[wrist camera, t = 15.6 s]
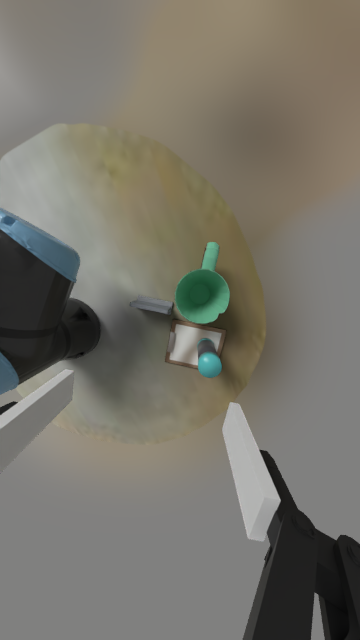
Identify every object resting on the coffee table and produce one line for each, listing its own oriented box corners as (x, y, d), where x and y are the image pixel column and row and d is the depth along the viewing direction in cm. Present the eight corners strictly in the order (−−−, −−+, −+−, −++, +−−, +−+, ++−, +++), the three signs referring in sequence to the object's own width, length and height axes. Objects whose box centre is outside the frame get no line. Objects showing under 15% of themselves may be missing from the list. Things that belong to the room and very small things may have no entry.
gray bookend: (136, 307, 43) (128, 311, 37) (138, 295, 42) (130, 296, 37) (170, 314, 43) (167, 319, 37) (172, 302, 42) (169, 305, 36)
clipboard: (165, 360, 45) (164, 362, 44) (173, 319, 43) (172, 320, 42) (215, 371, 45) (216, 373, 44) (226, 329, 43) (227, 331, 41)
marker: (201, 334, 42) (203, 352, 31) (217, 341, 42) (225, 361, 31) (194, 350, 43) (194, 372, 32) (209, 356, 43) (215, 381, 32)
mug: (215, 318, 42) (222, 328, 32) (175, 310, 43) (170, 318, 33) (230, 254, 39) (243, 244, 29) (187, 246, 40) (185, 234, 30)
